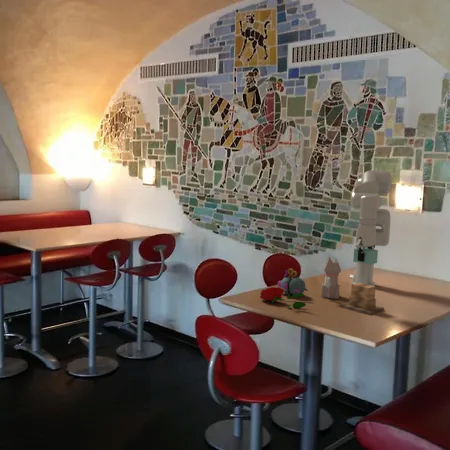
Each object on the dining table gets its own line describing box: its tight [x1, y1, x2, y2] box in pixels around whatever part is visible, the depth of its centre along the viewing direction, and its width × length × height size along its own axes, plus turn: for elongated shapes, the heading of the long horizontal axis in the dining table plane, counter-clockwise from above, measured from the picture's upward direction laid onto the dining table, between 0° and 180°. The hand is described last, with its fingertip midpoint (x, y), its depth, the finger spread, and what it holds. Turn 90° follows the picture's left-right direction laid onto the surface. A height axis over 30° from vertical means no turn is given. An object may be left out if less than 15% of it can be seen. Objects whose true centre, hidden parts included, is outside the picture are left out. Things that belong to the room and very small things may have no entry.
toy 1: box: [277, 268, 309, 295], centre depth 281 cm, size 11×14×15 cm
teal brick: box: [353, 247, 379, 265], centre depth 257 cm, size 9×6×6 cm, turn 50°
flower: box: [259, 286, 314, 310], centre depth 261 cm, size 9×9×30 cm
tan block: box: [350, 283, 376, 301], centre depth 260 cm, size 9×6×6 cm, turn 42°
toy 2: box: [320, 257, 342, 300], centre depth 277 cm, size 9×18×20 cm, turn 161°
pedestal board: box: [340, 295, 385, 316], centre depth 261 cm, size 16×12×5 cm
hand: (365, 260), depth 258 cm, fingers closed on teal brick, 6 cm apart
